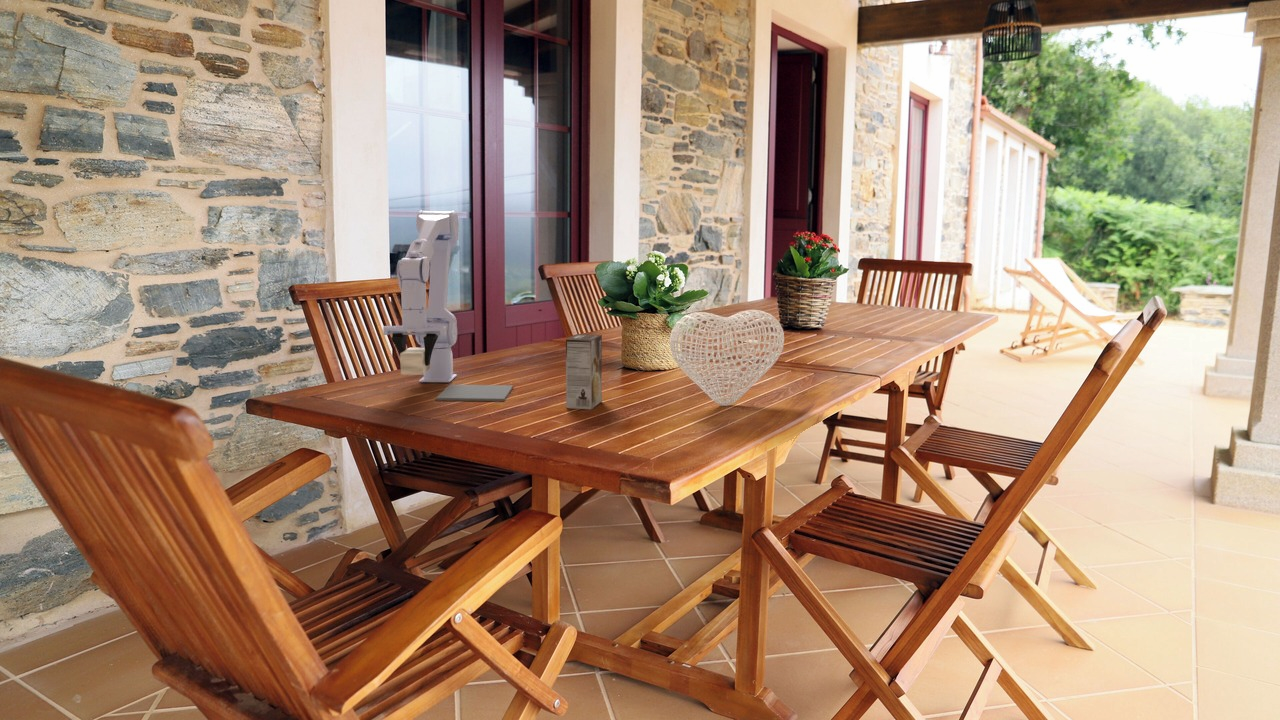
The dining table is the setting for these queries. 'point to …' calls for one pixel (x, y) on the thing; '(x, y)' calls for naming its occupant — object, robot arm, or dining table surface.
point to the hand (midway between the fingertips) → (415, 364)
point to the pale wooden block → (413, 361)
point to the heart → (727, 320)
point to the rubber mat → (475, 393)
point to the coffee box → (583, 371)
